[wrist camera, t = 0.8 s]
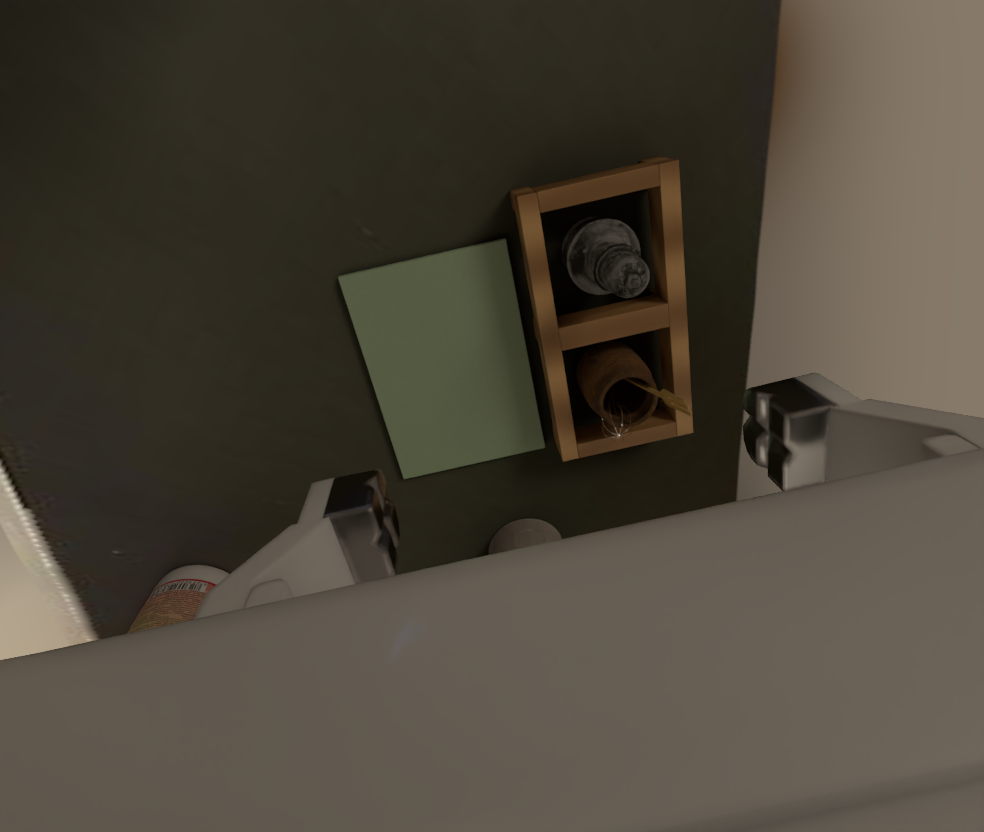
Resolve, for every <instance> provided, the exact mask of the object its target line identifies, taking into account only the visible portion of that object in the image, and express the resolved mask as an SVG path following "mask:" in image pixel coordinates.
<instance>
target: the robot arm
mask: <svg viewBox="0 0 984 832" xmlns="http://www.w3.org/2000/svg"><path fill="white" fill-rule="evenodd" d="M743 409H744V410H745V411H746V412H747V413H748V414H749V415H750V416H749V418H748V419H747V421H746V422H745V424H744V425H743V434H744V442H745V445H746V449H747V452H748V453H749V455H750V457H751V459H752V460H753V461H754V462H755V463H756V464H757V465H758V466H761V467H765V468H768V477H770V479H771V480H772V481H773V482H774V483H775V484H776V485H777V486H778V487H779V488H780V489H781V490H782V492H778V493H774V494H768V495H764V496H759V497H755V498H750V499H746V500H741V501H736V502H732V503H727V504H722V505H718V506H713V507H709V508H704V509H699V510H695V511H690V512H686V513H681V514H676V515H672V516H667V517H663V518H658V519H653V520H649V521H644V522H640V523H635V524H630V525H626V526H621V527H616V528H612V529H607V530H603V531H598V532H593V533H589V534H584V535H579V536H575V537H570V538H566V539H561V540H556V541H552V542H547V543H543V544H538V545H533V546H529V547H524V548H519V549H515V550H510V551H506V552H501V553H496V554H492V555H487V556H482V557H478V558H473V559H469V560H464V561H459V562H455V563H450V564H445V565H441V566H436V567H432V568H427V569H422V570H418V571H413V572H409V573H404V574H399V575H396V573H397V563H398V555H397V552H396V549H395V547H396V546H397V545H398V544H399V539H400V532H399V522H398V518H397V513H396V510H395V507H394V504H393V502H392V501H390V500H389V499H388V498H386V495H387V486H388V485H387V483H386V480H385V477H384V475H383V472H382V471H381V470H380V469H377V470H372V471H367V472H362V473H357V474H352V475H347V476H342V477H337V478H330V479H326V480H322V481H318V482H315V483H312V484H311V486H310V489H309V492H308V494H307V497H306V500H305V503H304V506H303V508H302V511H301V514H300V517H299V520H298V522H297V524H294V525H290V526H289V527H288V528H287V529H285V530H284V531H283V532H282V533H280V534H279V535H278V536H277V537H275V538H274V539H273V540H272V541H270V542H269V543H268V544H267V545H265V546H264V547H263V548H262V549H260V550H259V551H258V552H257V553H255V554H254V555H253V556H252V557H251V558H249V559H248V560H247V561H246V562H244V563H243V564H242V565H241V566H239V567H238V568H237V569H236V570H234V571H233V572H232V573H231V574H229V575H228V576H227V577H226V578H224V579H223V580H222V581H221V582H219V583H218V584H217V585H216V586H215V587H213V588H212V589H211V590H210V591H208V592H207V593H206V595H205V597H204V599H203V601H202V603H201V605H200V607H199V609H198V611H197V613H196V615H195V617H194V619H193V620H188V621H183V622H179V623H174V624H170V625H165V626H160V627H156V628H151V629H147V630H142V631H137V632H133V633H128V634H123V635H119V636H114V637H110V638H105V639H100V640H96V641H91V642H87V643H82V644H77V645H73V646H68V647H64V648H59V649H54V650H50V651H45V652H41V653H36V654H30V655H26V656H20V657H15V658H9V659H4V660H0V832H984V418H979V417H973V416H968V415H962V414H956V413H950V412H944V411H937V410H932V409H926V408H920V407H914V406H908V405H902V404H897V403H891V402H885V401H879V400H873V399H867V400H861V399H859V398H858V397H856V396H854V395H853V394H851V393H850V392H848V391H846V390H845V389H843V388H841V387H840V386H838V385H837V384H835V383H834V382H832V381H830V380H829V379H827V378H825V377H824V376H822V375H821V374H819V373H810V374H807V375H802V376H799V377H795V378H790V379H786V380H782V381H777V382H773V383H769V384H765V385H761V386H757V387H752V388H749V389H747V390H745V392H744V396H743Z"/></svg>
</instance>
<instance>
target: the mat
mask: <svg viewBox="0 0 984 832" xmlns="http://www.w3.org/2000/svg"><path fill="white" fill-rule="evenodd" d="M338 280H339V283H340V286H341V289H342V292H343V295H344V298H345V301H346V304H347V307H348V310H349V313H350V316H351V320H352V323H353V326H354V329H355V332H356V335H357V338H358V341H359V344H360V347H361V350H362V353H363V356H364V359H365V362H366V365H367V368H368V371H369V375H370V378H371V381H372V384H373V387H374V390H375V393H376V396H377V399H378V402H379V405H380V408H381V411H382V414H383V417H384V420H385V423H386V427H387V430H388V433H389V436H390V439H391V442H392V445H393V448H394V451H395V454H396V457H397V460H398V463H399V466H400V469H401V472H402V475H403V478H404V479H408V478H412V477H417V476H421V475H426V474H430V473H434V472H439V471H443V470H448V469H452V468H457V467H461V466H466V465H470V464H475V463H479V462H484V461H488V460H492V459H497V458H501V457H506V456H510V455H515V454H519V453H524V452H528V451H533V450H537V449H542V448H545V443H544V438H543V433H542V427H541V422H540V417H539V411H538V406H537V401H536V396H535V390H534V385H533V380H532V374H531V369H530V364H529V358H528V353H527V348H526V343H525V337H524V332H523V327H522V321H521V316H520V311H519V305H518V300H517V295H516V289H515V284H514V279H513V274H512V268H511V263H510V258H509V252H508V247H507V242H506V239H505V238H503V239H498V240H494V241H490V242H485V243H481V244H476V245H472V246H468V247H463V248H459V249H455V250H450V251H446V252H441V253H437V254H433V255H428V256H424V257H420V258H415V259H411V260H406V261H402V262H398V263H393V264H389V265H384V266H380V267H376V268H371V269H367V270H363V271H358V272H354V273H349V274H345V275H341V276H339V277H338Z"/></svg>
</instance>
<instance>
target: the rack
mask: <svg viewBox="0 0 984 832" xmlns="http://www.w3.org/2000/svg"><path fill="white" fill-rule="evenodd" d="M639 162H640V163H638V164H634V165H629V166H625V167H621V168H616V169H612V170H608V171H603V172H599V173H594V174H590V175H586V176H581V177H577V178H573V179H568V180H564V181H559V182H555V183H551V184H546V185H542V186H538V187H533V188H531V189H530V188H529V187H528V186H527V187H522V188H518V189H513V190H510V191H509V192H510V197H511V203H512V209H513V210H514V211H515V214H516V220H517V226H518V231H519V237H520V243H521V248H522V254H523V259H524V265H525V271H526V276H527V282H528V288H529V293H530V299H531V304H532V310H533V316H532V320H533V326H534V331H535V337H536V339H537V341H538V344H539V349H540V355H541V361H542V366H543V372H544V377H545V383H546V389H547V394H548V400H549V406H550V411H551V417H552V422H553V425H552V431H553V437H554V440H555V443H556V445H557V448H558V450H559V453H560V456H561V458H562V461H563V462H564V461H568V460H573V459H577V458H582V457H587V456H591V455H596V454H600V453H604V452H609V451H613V450H618V449H622V448H627V447H631V446H636V445H640V444H645V443H649V442H654V441H658V440H663V439H667V438H672V437H676V436H680V435H685V434H689V433H693V420H692V416H689V415H687V414H685V413H682V412H680V411H678V410H676V409H674V408H672V407H670V406H668V405H667V404H666V403H665V402H664V401H663V400H661V401H659V407H660V409H657V410H654V412H653V413H652V414H651V416H650V417H649V418H648V419H647V420H645V421H644V422H642V423H641V424H639V425H636V426H634V427H631V434H630V427H629V429H628V428H619V427H615V428H616V430H615V428H614V426H612V425H610V424H608V423H607V422H606V421H604V422H599V423H595V424H590V425H586V426H581V427H577V428H574V424H573V418H572V412H571V405H570V399H569V393H568V386H567V380H566V374H565V368H564V361H563V355H562V351H564V350H568V349H573V348H577V347H582V346H586V345H591V344H595V343H599V342H604V341H608V340H613V339H617V338H622V337H626V336H630V335H635V334H639V333H644V332H648V331H653V330H657V329H659V342H660V355H661V368H662V381H663V389H665V390H667V391H669V392H671V393H673V394H674V395H676V396H678V397H680V398H682V399H684V400H685V401H686V403H685V404H684V403H683V404H684V405H686V406H688V407H689V410H687V411H689V412H691V413H692V401H691V382H690V363H689V344H688V325H687V306H686V287H685V268H684V250H683V231H682V212H681V193H680V174H679V160H676V159H670V158H663V157H653V158H649V159H644V160H640V161H639ZM644 189H648V199H649V212H650V225H651V238H652V251H653V264H654V277H655V289H651V290H650V295H649V296H645V297H640V298H636V299H631V300H627V301H623V302H618V303H614V304H609V305H605V306H600V307H596V308H592V309H587V310H583V311H578V312H574V313H570V314H565V315H561V316H556V311H555V305H554V299H553V292H552V286H551V280H550V274H549V267H548V261H547V255H546V248H545V242H544V236H543V230H542V223H541V217H540V213H543V212H548V211H552V210H556V209H561V208H565V207H570V206H574V205H578V204H583V203H587V202H591V201H596V200H600V199H605V198H609V197H613V196H618V195H622V194H626V193H631V192H635V191H640V190H644ZM679 402H680V401H679ZM681 403H682V402H681ZM683 409H684V408H683ZM685 410H686V409H685ZM603 423H604V425H603ZM602 426H603V429H602ZM604 426H605V427H606V428H607V429H608V430H609V431H610V430H611V432H612V433H611V434H610V432H609V431H608V430H607V429H606V428H605V427H604ZM621 429H622V432H620V430H621ZM627 429H628V430H627ZM626 430H627V431H626ZM603 431H604V433H603ZM616 431H617V432H616ZM625 431H626V432H625ZM623 432H625V433H623ZM613 433H614V434H613ZM617 433H618V434H617ZM619 433H620V434H621V435H620V434H619ZM622 433H623V436H625V437H622ZM604 434H605V435H606V436H608V437H606V436H605V435H604ZM615 434H617V435H620V437H619V436H617V435H615ZM629 434H630V435H629ZM627 435H629V436H627ZM611 436H612V438H610V437H611ZM614 436H616V437H614ZM617 437H618V438H617ZM620 438H621V439H622V440H623V441H622V440H621V439H620ZM616 439H617V440H616ZM612 440H613V441H614V442H613V441H612ZM615 440H616V441H615Z"/></svg>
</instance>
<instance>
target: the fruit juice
mask: <svg viewBox="0 0 984 832" xmlns="http://www.w3.org/2000/svg"><path fill="white" fill-rule="evenodd" d="M228 575H229V573H227V572H225V571H223V570H221V569H218V568H215V567H211V566H205V565H189V566H184V567H180V568H177V569H175V570H173V571H171V572H169V573H168V574H167V575H165V576H164V577H163V578H162V579H161V580H160V581H159V582H158V584H157V585H156V586H155V588H154V589H153V591H152V592H151V594H150V596H149V597H148V599H147V601H146V602H145V604H144V606H143V608H142V609H141V611H140V613H139V614H138V616H137V618H136V619H135V621H134V623H133V624H132V626H131V628H130V629H129V631H128V633H133V632H137V631H142V630H147V629H151V628H156V627H160V626H165V625H170V624H174V623H179V622H183V621H188V620H193V619H194V617H195V615H196V613H197V611H198V609H199V607H200V605H201V603H202V601H203V599H204V597H205V595H206V593H207V592H208V591H210V590H211V589H212V588H213V587H215V586H216V585H217V584H218V583H219V582H221V581H222V580H223V579H224V578H226V577H227V576H228ZM128 633H127V634H128Z"/></svg>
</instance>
